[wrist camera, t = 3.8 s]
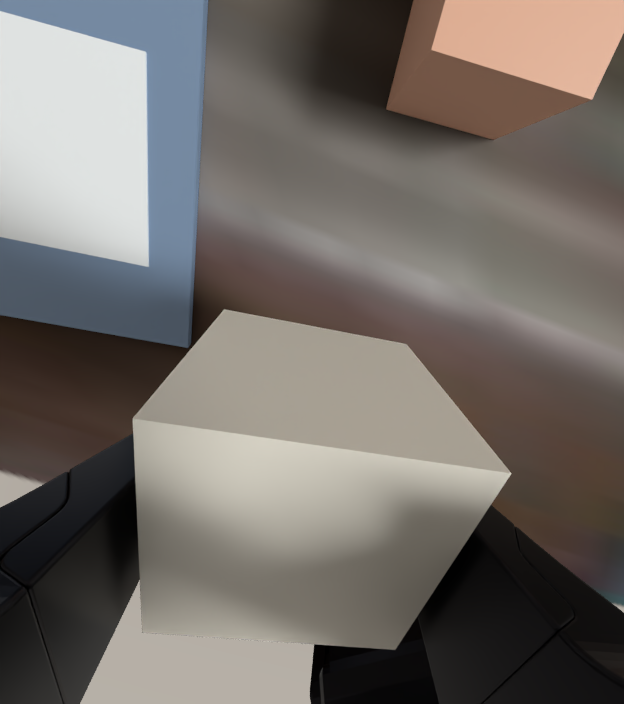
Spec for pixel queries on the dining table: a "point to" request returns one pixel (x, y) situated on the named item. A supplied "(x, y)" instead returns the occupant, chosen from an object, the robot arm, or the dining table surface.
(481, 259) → the dining table surface
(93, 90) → the board
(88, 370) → the dining table surface
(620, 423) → the dining table surface
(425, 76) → the terracotta block
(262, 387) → the cream block
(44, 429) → the dining table surface
